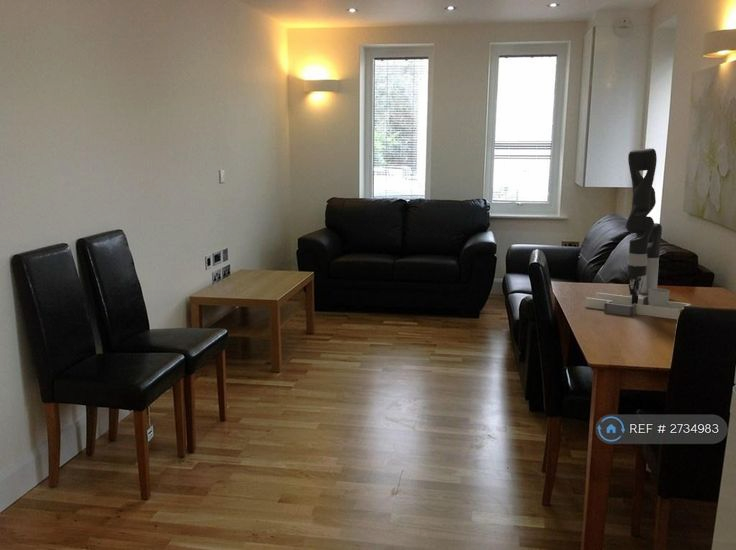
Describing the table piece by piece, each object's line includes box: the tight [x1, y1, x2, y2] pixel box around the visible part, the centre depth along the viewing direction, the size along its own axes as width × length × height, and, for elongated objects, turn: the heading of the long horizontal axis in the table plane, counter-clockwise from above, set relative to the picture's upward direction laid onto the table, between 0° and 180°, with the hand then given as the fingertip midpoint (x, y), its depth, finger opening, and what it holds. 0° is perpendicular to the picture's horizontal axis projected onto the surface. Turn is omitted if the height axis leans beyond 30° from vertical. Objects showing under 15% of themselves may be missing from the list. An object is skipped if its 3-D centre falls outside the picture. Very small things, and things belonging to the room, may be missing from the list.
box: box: [584, 292, 692, 320], centre depth 273 cm, size 25×39×4 cm, turn 52°
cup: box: [647, 287, 671, 308], centre depth 266 cm, size 8×8×10 cm
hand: (634, 304), depth 273 cm, fingers closed
